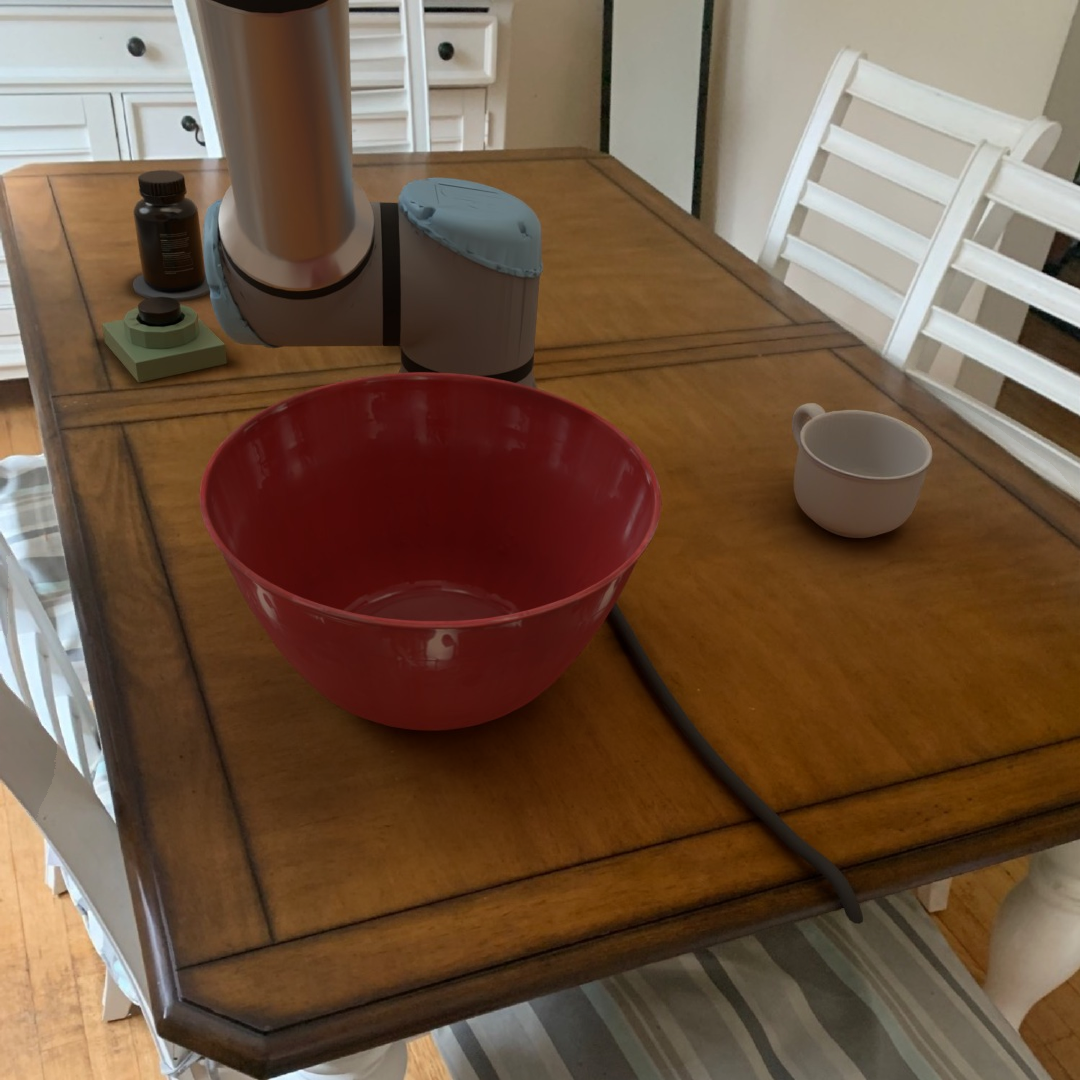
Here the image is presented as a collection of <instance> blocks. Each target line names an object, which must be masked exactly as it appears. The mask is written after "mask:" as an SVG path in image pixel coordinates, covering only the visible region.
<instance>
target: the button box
mask: <svg viewBox="0 0 1080 1080" xmlns="http://www.w3.org/2000/svg"><path fill="white" fill-rule="evenodd" d="M180 307H181V315H182V321H181V322H179V323H177V324H175V325H171V326H166V327H150V326H146V325H143V324H141V323H140V318H139V311H138V306H137V307H134V308H133V309H130V310H129V311H127V312H126V314H125V315H124V318H123V319H119V320H113V321H108V322H107V321H106V322H102V323H101V327H102V331H103V332H102V333H103V339H104V344H105V345H106V346H107V347H108V348H109V349H110V351H111V352H112V353H113V354H114V355H115V357H116V358H117V359H118V360H119V361H120V363H121V364H122V365H123V366H124V368H125V369H126V370H127V371H128V372H129V374H131V376H132V377H133V378H134V379H135V380H136V381H137V383H139V384H140V383H144V382H145V383H146V382H148V381H154V380H159V379H163V378H167V377H173V376H177V375H181V374H187V373H191V372H195V371H196V372H197V371H201V370H205V369H210V368H214V367H219V366H223V365H227V363H228V362H227V360H228V359H227V351H226V344H225V343H224V342H223V341H222V340H221V339H220V338H219V337H218V336H217V335H216V334H215V333H214V332H213V331H212V330H211V328H209V327H208V326H207V325H206V324H205V323H204V322H203V321H202V320H201V319H200V318H199V314H198V313H197V312H196V311H195V310H194V309H193V308H192V307H190V306H187V305H184V304H180Z"/></svg>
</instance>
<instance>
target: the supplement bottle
mask: <svg viewBox="0 0 1080 1080" xmlns="http://www.w3.org/2000/svg"><path fill="white" fill-rule="evenodd" d="M137 182H138V192H139V195H140V197H142V198H140V199H139V200H137V202H136V203H135V205H134V207H133V212H132V213H133V220H134V227H135V233H136V241H137V247H138V253H139V261H140V267H141V272H142V273H141V274H143V279H144V282H145V283H146V284H147V285H148V286H149V287H150V288H152V289H155V290H158V291H165V292H179V291H186V290H190V289H193V288H196V287H198V286H200V285H201V284H202V283H203V282H204V280H205V265H204V254H203V240H202V234H201V225H200V216H199V210H198V207H197V204H196V203H195V202H194V200H193V199H191V198H189V197H188V196H186V194H187V192H188V191H187V187H186V180H185V175H184V174H183V173H181V172H179V171H177V170H176V171H175V170H169V169H168V170H167V169H166V170H165V169H160V170H159V169H158V170H150V171H146V172H143V173H141V174H139V176H138V177H137Z"/></svg>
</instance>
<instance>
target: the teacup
mask: <svg viewBox="0 0 1080 1080" xmlns="http://www.w3.org/2000/svg"><path fill="white" fill-rule="evenodd" d="M809 418H810V419H809ZM808 419H809V420H808ZM791 428H792V435H793V438H794V441H795V443H796V445H797V448H798V449H797V450H798V451H797V456H796V462H795V468H794V475H793V491H794V496H795V500H796V502H797V504H798V506H799V508H800V509H801V510H802V512H803V513H804V514H805V515H806V516H807V517H808V518H809V519H811V520H812V521H813V522H814V523H815V524H816V525H817V526H819V527H820V528H822V529H823V530H825V531H828V532H830V533H832V534H835V535H837V536H840V537H845V538H852V539H866V538H871V537H876V536H878V535H882V534H885V533H886V534H887V533H889V532H892V531H894V530H896V529H898V528H899V527H901V526H902V525H903V524H905V522H906V521H907V520H908V519H909V518H910V516H911V515H912V513H913V512H914V509H915V508H916V506H917V503H918V500H919V497H920V495H921V491H922V489H923V486H924V482H925V479H926V475H927V472H928V469H929V467H930V465H931V463H932V460H933V449H932V446H931V444H930V441H929V440H928V439H927V438H926V436H925V435H924V434H923V433H921V431H919V430H918V429H917V428H915V427H913V426H912V425H910V424H908V423H906V422H904V421H902V420H901V419H898V418H896V417H893V416H890V415H887V414H883V413H878V412H874V411H870V410H869V411H868V410H861V409H844V410H843V409H842V410H832V411H829V412H826V411H825V409H824V408H823V407H822V406H821V405H819V404H818V403H815V402H808V403H804V404H802V405H800V406H799V407H797V408H796V409H795V411H794V413H793V416H792V420H791Z"/></svg>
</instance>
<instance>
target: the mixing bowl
mask: <svg viewBox="0 0 1080 1080" xmlns="http://www.w3.org/2000/svg"><path fill="white" fill-rule="evenodd" d="M198 498H199V501H198V502H199V509H200V513H201V516H202V518H201V519H202V520H203V524H204V527H205V529H206V531H207V533H208V535H209V537H210V538H211V540H212V542H213V543H214V546H216V548H217V549H218V550H219V552H220V553H221V554H222V556H223V558H224V560H225V563H226V566H227V567H228V570H229V571H230V573H231V575H232V577H233V580H234V582H235V583H236V585H237V589H239V592H240V593H241V595H242V597H243V598H244V600H245V602H246V603H247V605H248V607H249V609H250V610H251V612H252V614H253V615H254V616H255V618H256V619H257V621H258V622H259V624H260V625H261V627H262V628H263V630H264V632H265V633H266V635H267V636H268V637H269V639H270V640H271V642H272V643H273V644H274V646H275V647H276V648H277V650H278V651H279V652H280V653H281V654H282V656H283V657H284V659H285V660H286V661H287V662H288V663H289V664H290V666H292V668H293V669H294V670H295V671H296V673H298V674H299V675H300V676H301V677H302V678H303V679H304V680H305V681H306V682H307V683H308V684H309V685H310V686H311V687H313V688H314V689H315V690H316V691H317V692H318V693H319V694H320V695H322V696H323V697H324V698H325V699H327V700H328V702H331V703H332V704H334V705H336V706H337V707H339V708H341V709H342V710H344V711H346V712H348V713H349V714H350V715H353V716H356V717H358V718H361V719H364V720H368V721H371V722H374V723H377V724H379V725H380V724H381V725H382V726H383V725H384V726H386V727H393V728H399V729H405V730H412V731H451V730H457V729H463V728H464V729H465V728H469V727H475V726H478V725H481V724H485V723H488V722H491V721H494V720H497V719H499V718H502V717H505V716H506V715H508V714H511V713H512V712H514V711H516V710H518V709H520V708H523V707H524V706H526V705H527V704H529V703H531V702H532V701H534V700H535V699H536V698H538V696H539V695H541V694H542V693H543V692H544V691H546V690H547V689H548V688H550V687H551V686H552V685H553V684H554V683H555V682H556V681H557V680H558V679H559V678H560V677H561V676H562V675H563V674H564V673H565V672H566V671H567V670H568V669H569V668H570V666H571V665H572V664H573V663H574V662H575V661H576V660H577V659H578V657H579V656H580V654H582V652H583V651H584V650H585V648H586V647H587V646H588V644H589V643H590V642H591V640H592V639H593V637H595V634H597V632H598V631H599V629H600V628H601V626H602V625H603V624H604V622H605V620H606V619H607V618H608V615H609V613H610V611H611V609H612V608H613V606H614V604H615V603H616V604H617V601H618V599H619V597H620V596H621V594H622V592H623V590H624V588H625V587H626V585H627V583H628V581H629V579H630V577H631V575H632V573H633V571H634V569H635V567H636V564H637V562H638V560H639V558H640V557H641V556H642V555H643V554H644V552H645V551H646V550H647V548H648V547H649V545H650V544H651V542H652V540H653V538H654V536H655V534H656V531H657V529H658V525H659V522H660V518H661V512H662V505H663V503H662V492H661V487H660V483H659V480H658V477H657V475H656V472H655V470H654V468H653V466H652V464H651V463H650V461H649V459H648V458H647V456H646V455H645V454H644V452H643V451H642V450H641V449H640V447H638V445H637V444H636V443H635V442H634V441H633V440H632V439H631V437H629V436H628V435H627V434H625V433H624V432H623V431H622V430H621V429H619V428H618V427H617V426H616V425H615V424H613V423H612V422H610V421H609V420H607V419H606V418H604V417H603V416H601V415H599V414H597V413H596V412H595V411H592V410H591V409H589V408H586V407H584V406H582V405H581V404H579V403H576V402H574V401H572V400H570V399H568V398H565V397H563V396H560V395H557V394H554V393H552V392H549V391H546V390H542V389H539V388H537V389H536V388H533V387H530V386H526V385H522V384H518V383H513V382H509V381H504V380H499V379H494V378H488V377H482V376H474V375H464V374H454V373H430V372H414V373H399V372H398V373H385V374H376V375H369V376H363V377H358V378H357V377H356V378H352V379H345V380H342V381H338V382H333V383H327V384H325V385H321V386H317V387H315V388H314V387H313V388H311V389H308V390H306V391H303V392H300V393H297V394H295V395H292V396H289V397H287V398H285V399H283V400H280V401H278V402H276V403H274V404H271V405H270V406H268V407H267V408H266V407H265V409H263V410H261V411H259V412H258V413H256V414H255V415H253V416H251V417H250V418H248V419H246V420H245V421H244V422H242V423H241V424H240V425H239V426H238V427H236V428H235V429H234V430H233V431H232V432H230V434H228V436H227V437H226V438H224V440H223V441H222V442H221V443H220V444H219V446H218V447H217V448H216V449H215V451H214V453H213V454H212V456H211V457H210V459H209V461H208V462H207V464H206V466H205V469H204V471H203V474H202V477H201V482H200V487H199V497H198Z"/></svg>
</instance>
